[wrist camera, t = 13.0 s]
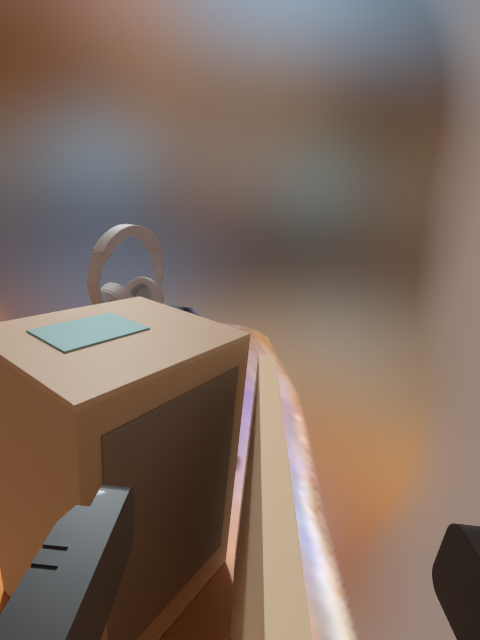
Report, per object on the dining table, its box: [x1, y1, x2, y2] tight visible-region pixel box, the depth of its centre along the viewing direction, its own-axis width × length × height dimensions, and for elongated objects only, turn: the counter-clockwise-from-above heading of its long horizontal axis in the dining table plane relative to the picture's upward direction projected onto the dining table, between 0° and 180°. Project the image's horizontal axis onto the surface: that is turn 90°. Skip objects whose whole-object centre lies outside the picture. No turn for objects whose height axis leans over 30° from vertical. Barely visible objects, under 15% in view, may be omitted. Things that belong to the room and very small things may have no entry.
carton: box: [0, 296, 250, 640], centre depth 22 cm, size 11×10×18 cm
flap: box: [230, 354, 312, 640], centre depth 16 cm, size 18×1×16 cm, turn 178°
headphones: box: [87, 224, 164, 305], centre depth 68 cm, size 19×8×20 cm, turn 156°
